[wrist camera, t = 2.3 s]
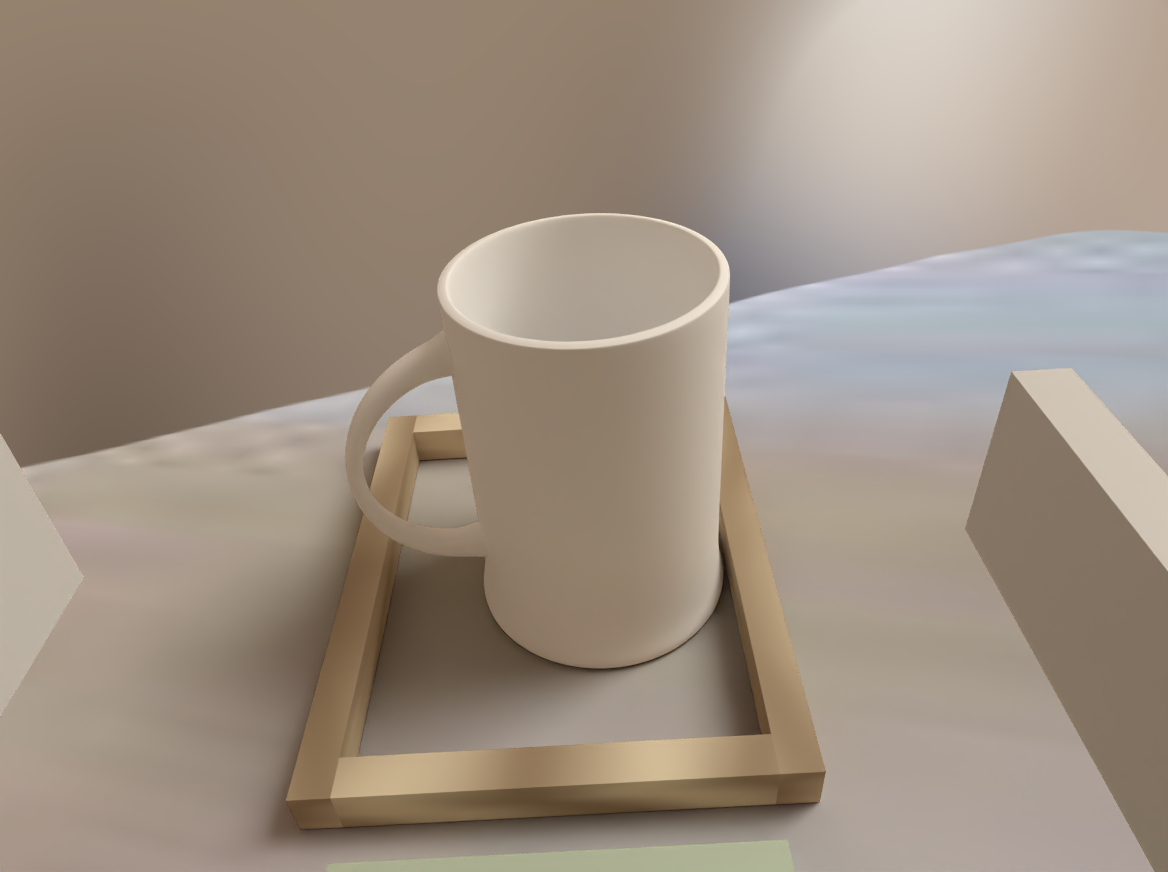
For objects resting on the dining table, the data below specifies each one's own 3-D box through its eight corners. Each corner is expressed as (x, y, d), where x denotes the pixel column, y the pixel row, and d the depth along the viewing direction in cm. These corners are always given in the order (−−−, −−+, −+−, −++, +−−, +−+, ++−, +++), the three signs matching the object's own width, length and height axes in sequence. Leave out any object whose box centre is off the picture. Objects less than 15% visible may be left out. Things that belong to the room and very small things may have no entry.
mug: (400, 722, 26) (297, 405, 19) (387, 535, 33) (307, 248, 26) (760, 637, 28) (792, 318, 21) (679, 477, 35) (681, 191, 27)
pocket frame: (723, 424, 37) (725, 396, 36) (819, 802, 24) (825, 771, 23) (395, 444, 38) (389, 417, 37) (300, 829, 24) (285, 800, 23)
